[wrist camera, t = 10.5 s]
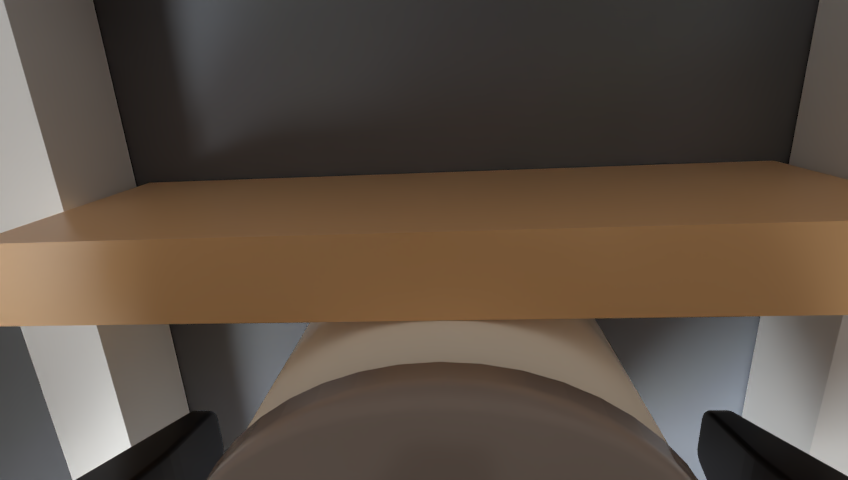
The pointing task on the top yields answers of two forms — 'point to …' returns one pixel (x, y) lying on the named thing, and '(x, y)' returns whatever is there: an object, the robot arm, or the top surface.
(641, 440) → the jar
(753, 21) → the top surface
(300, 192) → the bar
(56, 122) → the lane
